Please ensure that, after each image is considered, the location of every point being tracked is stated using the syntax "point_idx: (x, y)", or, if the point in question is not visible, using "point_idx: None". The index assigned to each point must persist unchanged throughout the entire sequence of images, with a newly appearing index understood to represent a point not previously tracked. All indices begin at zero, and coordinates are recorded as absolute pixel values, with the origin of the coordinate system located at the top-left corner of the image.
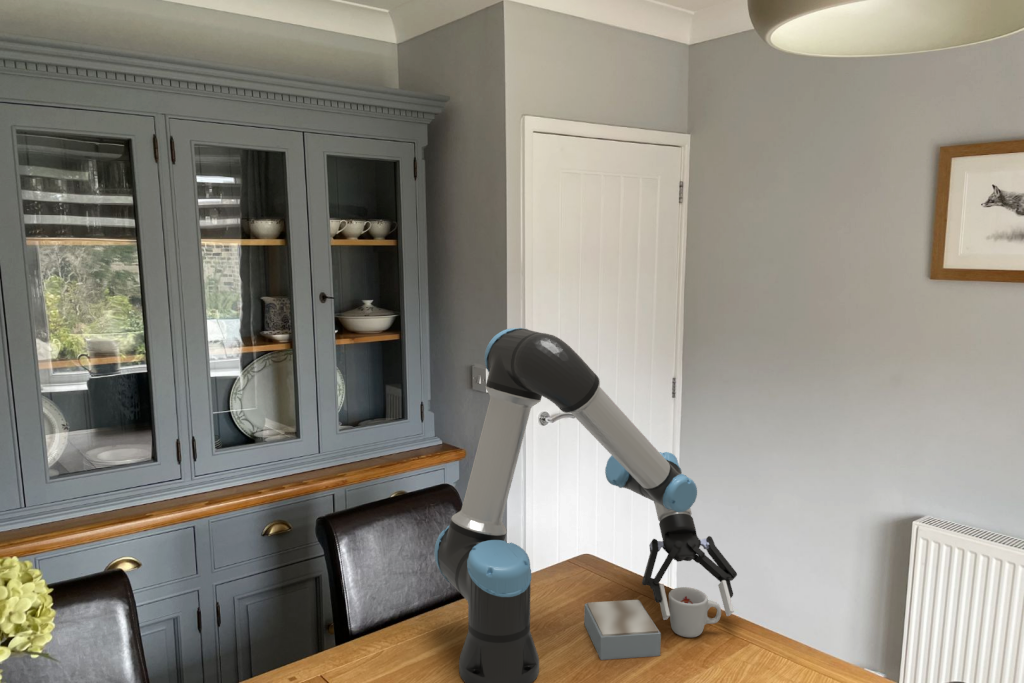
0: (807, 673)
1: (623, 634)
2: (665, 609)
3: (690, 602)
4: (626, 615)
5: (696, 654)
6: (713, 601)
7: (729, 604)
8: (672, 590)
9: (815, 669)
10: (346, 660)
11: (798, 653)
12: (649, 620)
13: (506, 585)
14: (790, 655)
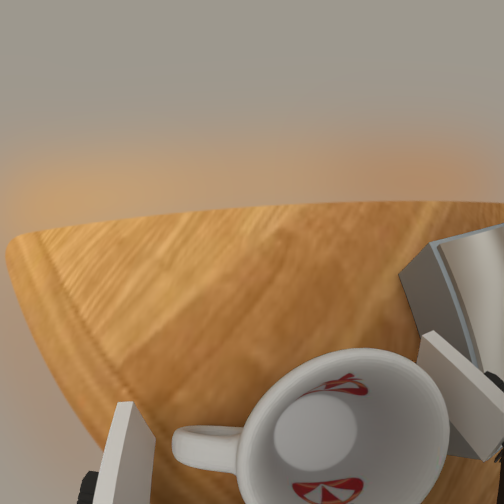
0: (58, 230)
1: (498, 228)
2: (448, 344)
3: (311, 500)
4: None
5: (300, 293)
6: (201, 458)
7: (123, 426)
8: (427, 487)
9: (38, 246)
10: None
11: (33, 308)
12: (471, 308)
13: None
14: (50, 299)
